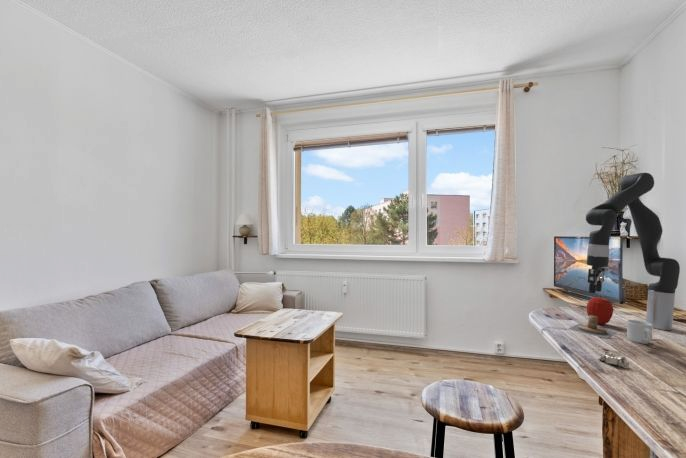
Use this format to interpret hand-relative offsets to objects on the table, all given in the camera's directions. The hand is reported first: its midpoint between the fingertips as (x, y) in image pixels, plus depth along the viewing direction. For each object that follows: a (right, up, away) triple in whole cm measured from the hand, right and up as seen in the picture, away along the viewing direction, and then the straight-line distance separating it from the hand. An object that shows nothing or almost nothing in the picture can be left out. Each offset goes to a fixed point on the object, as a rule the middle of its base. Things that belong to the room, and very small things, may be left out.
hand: (595, 292), depth 146 cm
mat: (-1, -17, 0) cm, 17 cm away
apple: (+12, -18, +13) cm, 25 cm away
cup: (+9, -18, -12) cm, 24 cm away
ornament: (-20, -18, -35) cm, 44 cm away
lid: (-1, -17, 0) cm, 17 cm away
